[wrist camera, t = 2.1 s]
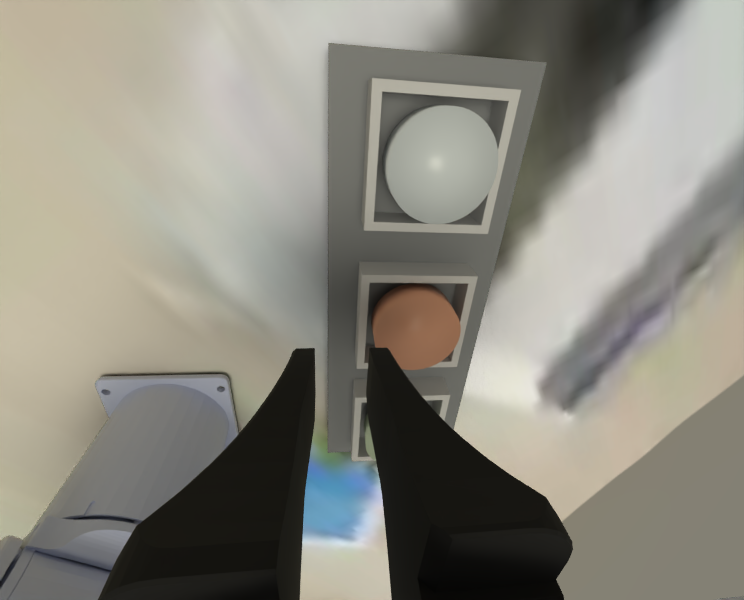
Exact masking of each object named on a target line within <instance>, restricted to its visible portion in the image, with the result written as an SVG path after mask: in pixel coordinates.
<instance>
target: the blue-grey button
mask: <svg viewBox="0 0 744 600" xmlns="http://www.w3.org/2000/svg"><path fill="white" fill-rule="evenodd" d="M497 168H498V147H497V143H496V140H495V137H494V134H493V132H492V130H491V128H490V127H489V126H488V124H487V123H486V122H485V121H484V120H483V119H482V118H481V117H480V116H479V115H477V114H476V113H475V112H473V111H471V110H469V109H466V108H463V107H458V106H449V105H431V106H426V107H423V108H420V109H418V110H416V111H414V112H412V113H410V114H409V115H407V116H406V117H405V118H404V119H403V120H402V121H401V122H400V123H399V124H398V125H397V126H396V127H395V129H394V130H393V132H392V133H391V135H390V137H389V139H388V142H387V144H386V147H385V151H384V156H383V173H384V178H385V182H386V184H387V187H388V189H389V191H390V193H391V194H392V196H393V197H394V199H395V201H396V202H397V204H398V205H399V206H400V208H401V209H402V210H403V211H404V212H405V213H407V214H408V215H409V216H411V217H412V218H414V219H416V220H418V221H421V222H424V223H428V224H445V223H450V222H453V221H456V220H458V219H461V218H463V217H464V216H466V215H468V214H469V213H471V212H472V211H473V210H474V209H475V208H477V207H478V206H479V205H480V204H481V202H482V201H483V200H484V199H485V197H486V196H487V194H488V193H489V191H490V189H491V187H492V185H493V183H494V180H495V177H496V174H497Z"/></svg>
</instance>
